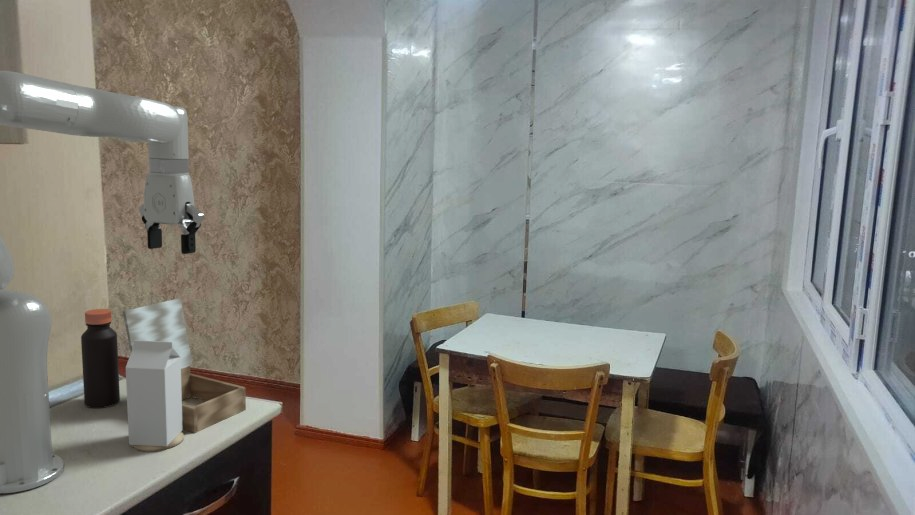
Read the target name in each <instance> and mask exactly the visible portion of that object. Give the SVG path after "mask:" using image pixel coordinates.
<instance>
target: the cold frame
mask: <svg viewBox="0 0 915 515" xmlns="http://www.w3.org/2000/svg"><path fill="white" fill-rule="evenodd" d="M122 314H123V319H124V324H125V331H126V335H127V340H128V345H129V351H130V352H129V353H131V352H132V350H133V347H134V340H139V341H161V342H172V347H173V349H174V350H175V351H176V352H177V353H178V355H179V356H180V359H181V392H182V401H183V400H186V399H189V398H193V399H194V398H195V399H198V400H201V401H204V402H201V403H200V404H197V405H195V406H193V405H189V404H186V403H183V402H182V426H183V430H182V431H186V432H189V433H193V434H195V433H197V432H200V431H202V430H204V429H206V428H209V427H211V426H213V425H216V424H217V423H220V422H222V421H224V420H227V419H228V418H230V417H233V416H235V415H237V414H239V413H241V412H244V411H246V409H247V407H246V406H247V404H246V402H247V401H246V400H247V399H246V398H247V397H246V394H247V393H246V391H247V390H246V387H245V386H242V385H238V384H234V383H230V382H226V381H222V380H218V379H216V378H215V379H214V378H211V377H207V376H204V375H203V376H202V375H198V374H194V373H191V366H193V365H194V364H193V360H192V359H193V358H192V354H191V349H190V348H191V347H190V343H189V342H190V341H189V337H188V331H187V325H186V320H185V314H184V309H183V304H182V299H181V297H180V298H174V299H169V300H165V301H161V302H157V303H153V304H149V305H144V306H140V307H135V308H131V309H127V310H123V311H122Z"/></svg>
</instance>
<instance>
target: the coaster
mask: <svg viewBox="0 0 915 515" xmlns="http://www.w3.org/2000/svg"><path fill="white" fill-rule="evenodd" d="M184 435H185V434H184V432H181V433H180V434H179V435H178V436H177V437H176V438H175V439H174V440H173V441H172V442H171V443H170V444H169V445H168V446H146V445H131V447H133V449H135V450H138V451H140V452H141V451H142V452H159V451H165V450H168V449H172V448H174V447H177V446H178V445H180V444H181V443H183V441H184Z"/></svg>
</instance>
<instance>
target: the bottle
mask: <svg viewBox="0 0 915 515" xmlns="http://www.w3.org/2000/svg"><path fill="white" fill-rule="evenodd" d="M84 321H85V326H86V328H87V329H86V330H85V331H84V332H83V333H82V334H81V336H80V344H81V359H82V381H83V398H84V405H85V407H87V408H88V407H89V408H91V409H92V408H94V409H100V408H101V409H102V408H107V407H112V406H114V405H116V404H118V403H119V402H120V400H121V392H120V371H119V351H118V349H119V348H118V333H117V332H116V331H115V329H113V328H112V327H111V324H112V310H110V309H107V308H106V309H105V308H96V309H95V308H94V309H90V310H86V311H85V312H84Z"/></svg>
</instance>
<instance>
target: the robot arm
mask: <svg viewBox="0 0 915 515" xmlns="http://www.w3.org/2000/svg"><path fill="white" fill-rule="evenodd" d="M188 120H189V119H188V113H187V110H186V109H185V108H184V107H182V106H177V105H171V104H169V103H167V102H163V101H159V100H156V99H155V100H154V99H150V98H146V97H142V96H136V95H130V94H124V93H118V92H111V91H108V90H102V89H99V88H93V87H88V86H87V87H86V86H81V85H75V84H72V83H68V82H64V81H63V82H62V81H57V80H53V79H49V78H45V77H41V76H36V75H32V74H26V73H22V72H17V71H11V70H0V126H6V127H13V128H20V129H26V130H27V129H29V130H33V131H34V130H36V131H42V132H49V133H57V134H62V135H67V136H80V137H90V138H92V137H94V138H100V137H101V138H105V137H108V138H110V137H112V138H115V139H117V140H120V141H123V142H129V143H147V144H148V145H147V146H148V150H147V151H148V172H149V173H146V178H145V183H144V193H143V204H142V205H140V206H139V207H138V211H139V214H140V216H141V221H142V223H143V224H144V229H145V230H146V235H147V248H148V249H149V250H154V249H160V248H162V247H163V233H162V232H163V230H162V228H160V227H161V225H171V226H175V225H178V227H179V228H180V230H181V232H182V233H183V234H182V233H181V234H180V248H181V249H180V251H181V254H182V255H188V254H195V253H196V250H197V248H196V247H197V246H196V245H197V244H196V243H197V242H196V234H198V232H199V229H200V228H201V226H202V221H203V218H204V213H203V212H202V211H201V210H199V209H198V208H197V207H196V206H195V196H194V190H193V183H192V179H191V175H190V164H189V163H190V161H189V159H190V158H189V128H188V127H189V121H188ZM14 275H15V266H14V261H13V258H12V255H11V253H10V251H9V249H8V247H7V245H6V243H5V241H4V239H3V238H2V235H1V234H0V494H13V493H19V492H25V491H28V490H32V489H36V488H38V487H41V486H43V485H46V484H48V483H50V482H52V481H53V480H55V479H56V478H58V477H59V476H60V475H61V474H62V473H63V471H64V469H65V463H64V460H63V458H62V457H60V456H58V455H57V454H53V444H52V441H53V440H52V427H51V426H52V424H51V410H50V396H49V395H50V394H49V392H50V391H49V380H48V347H49V340H50V334H51V329H52V316H51V312H50V310H49V308H48V306H47V305H46V304H45V302H43V301H42V300H41V299H40V298H38V297H37V296H35V295H32V294H30V293H26V292H23V291H18V290H12V289H7V287H8V285H9V284H11V282H12V280H13V278H14ZM5 288H6V289H5Z"/></svg>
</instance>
